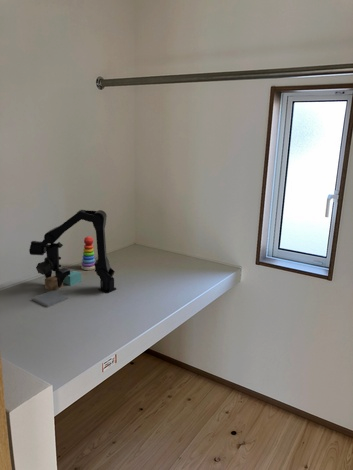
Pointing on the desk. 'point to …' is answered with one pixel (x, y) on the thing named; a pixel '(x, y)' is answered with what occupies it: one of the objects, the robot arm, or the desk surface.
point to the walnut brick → (51, 283)
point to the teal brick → (73, 278)
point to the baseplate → (49, 298)
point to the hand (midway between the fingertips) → (54, 285)
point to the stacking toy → (88, 254)
